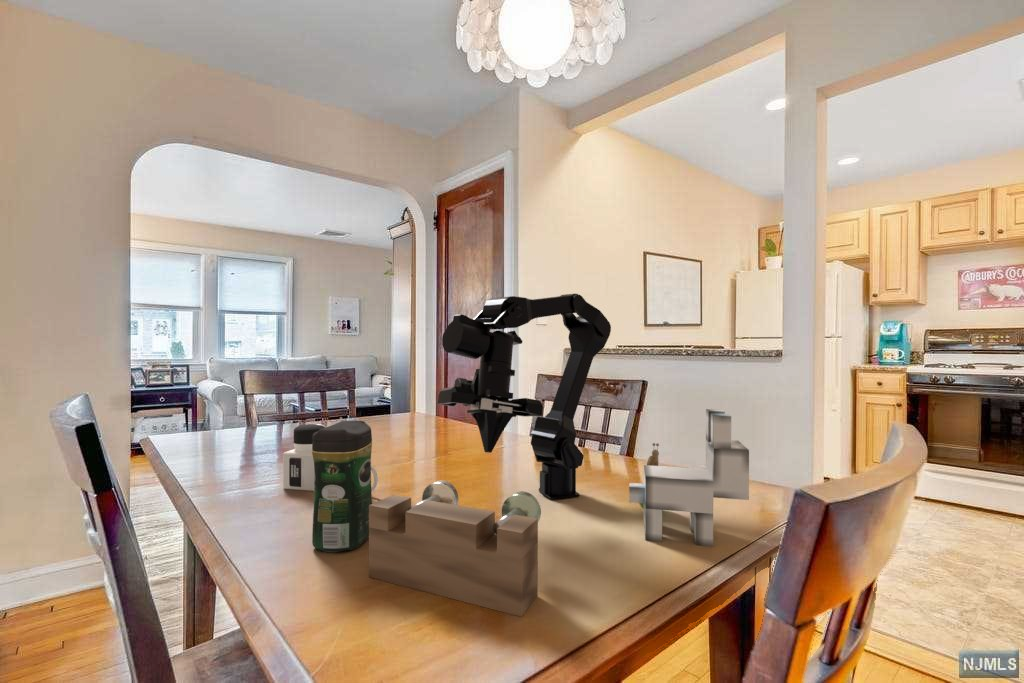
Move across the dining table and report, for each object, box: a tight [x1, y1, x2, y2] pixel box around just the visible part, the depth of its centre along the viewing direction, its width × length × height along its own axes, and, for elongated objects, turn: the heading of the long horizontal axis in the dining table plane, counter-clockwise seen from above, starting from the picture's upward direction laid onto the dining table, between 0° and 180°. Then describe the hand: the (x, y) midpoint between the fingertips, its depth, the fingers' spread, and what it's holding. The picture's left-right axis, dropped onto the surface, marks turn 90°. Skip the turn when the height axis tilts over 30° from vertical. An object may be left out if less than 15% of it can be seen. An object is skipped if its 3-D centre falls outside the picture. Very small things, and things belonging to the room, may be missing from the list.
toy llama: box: [628, 408, 750, 547], centre depth 80 cm, size 8×18×20 cm, turn 77°
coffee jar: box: [311, 420, 373, 553], centre depth 77 cm, size 10×8×19 cm
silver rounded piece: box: [408, 479, 460, 510], centre depth 70 cm, size 8×5×5 cm, turn 155°
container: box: [282, 423, 327, 492], centre depth 106 cm, size 8×8×13 cm
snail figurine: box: [638, 442, 660, 510], centre depth 91 cm, size 5×6×12 cm
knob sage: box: [493, 491, 542, 535], centre depth 64 cm, size 8×5×5 cm, turn 155°
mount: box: [368, 494, 539, 617], centre depth 63 cm, size 5×22×10 cm, turn 65°
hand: (488, 452), depth 85 cm, fingers closed
